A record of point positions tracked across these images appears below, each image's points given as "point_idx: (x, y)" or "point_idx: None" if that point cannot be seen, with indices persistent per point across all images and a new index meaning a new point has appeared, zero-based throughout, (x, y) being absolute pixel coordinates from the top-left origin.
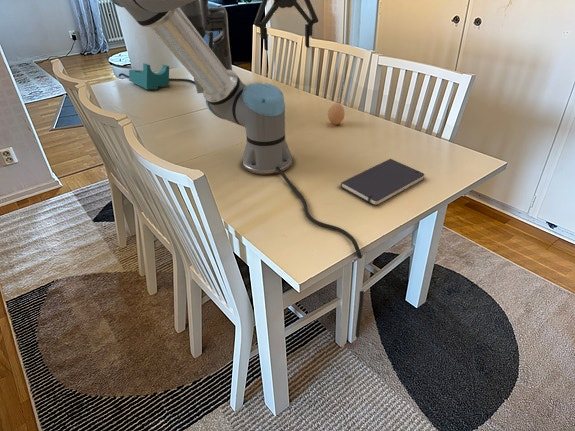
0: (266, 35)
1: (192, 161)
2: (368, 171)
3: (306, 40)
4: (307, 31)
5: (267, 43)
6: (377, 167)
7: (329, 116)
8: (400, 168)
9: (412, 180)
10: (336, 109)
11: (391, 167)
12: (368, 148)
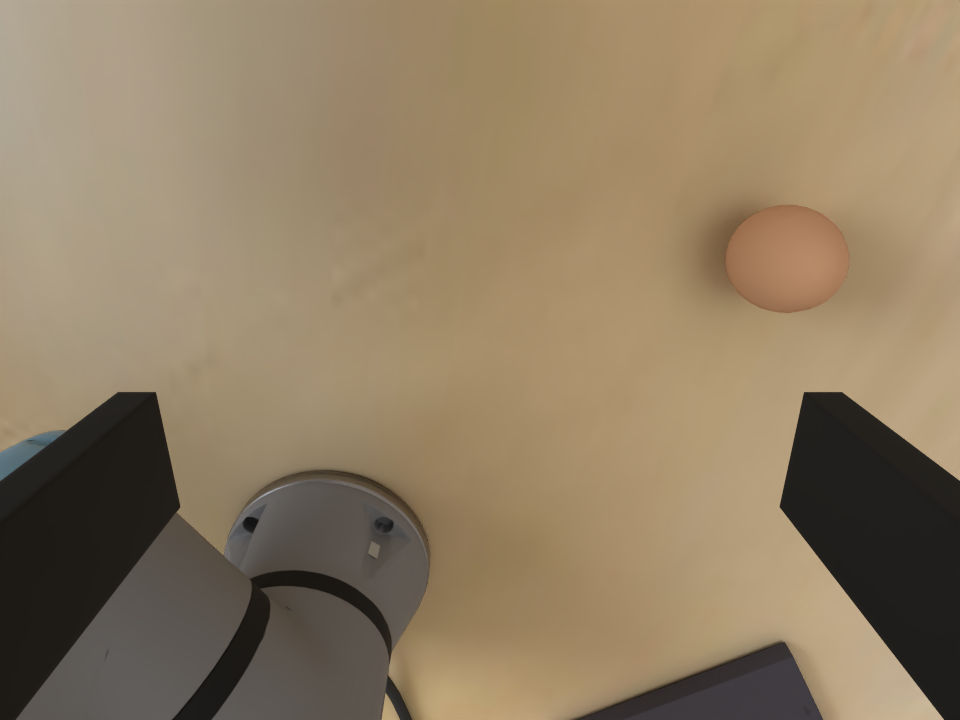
0: (23, 686)
1: None
2: (670, 711)
3: (839, 537)
4: (948, 714)
5: (125, 574)
6: (713, 696)
7: (731, 277)
8: (784, 714)
9: None
10: (787, 308)
11: (759, 704)
12: (774, 525)
